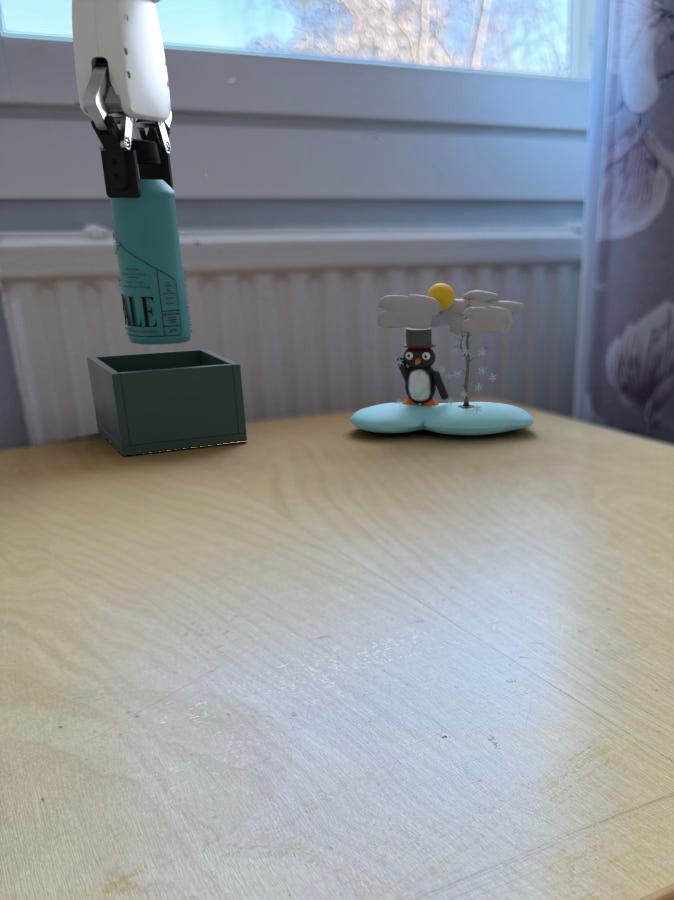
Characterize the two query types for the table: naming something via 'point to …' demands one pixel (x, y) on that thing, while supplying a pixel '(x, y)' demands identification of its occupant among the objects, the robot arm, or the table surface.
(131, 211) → the beverage bottle
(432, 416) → the penguin figurine
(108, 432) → the holder bin
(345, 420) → the table surface
